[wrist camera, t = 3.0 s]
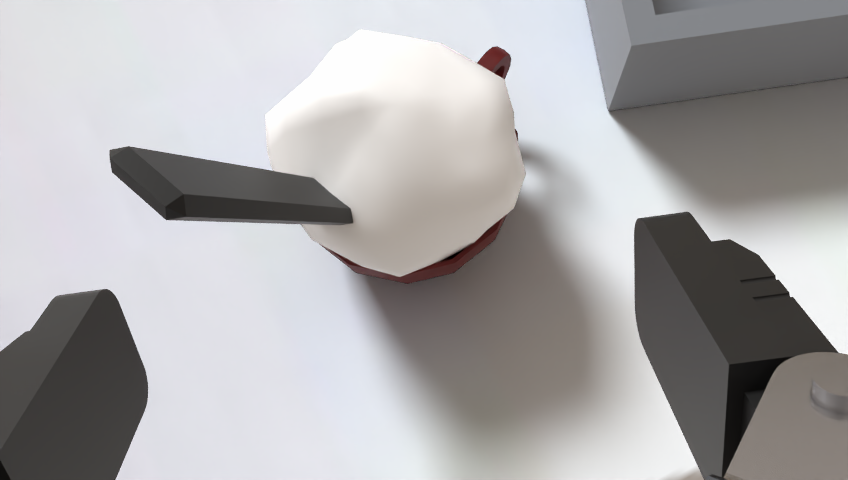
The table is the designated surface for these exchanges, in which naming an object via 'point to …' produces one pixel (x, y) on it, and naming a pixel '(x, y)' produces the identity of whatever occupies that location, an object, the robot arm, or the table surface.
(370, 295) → the table surface
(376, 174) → the cocoa
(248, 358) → the table surface
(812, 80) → the dock tray
